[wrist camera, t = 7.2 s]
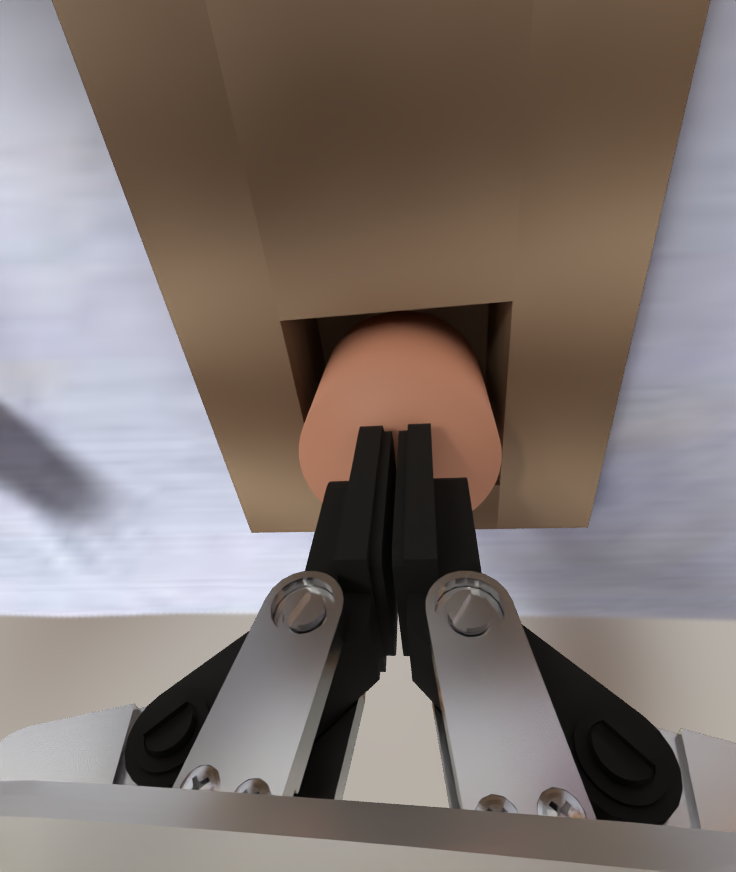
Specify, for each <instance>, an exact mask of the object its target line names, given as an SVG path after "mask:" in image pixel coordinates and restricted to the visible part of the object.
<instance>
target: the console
mask: <svg viewBox="0 0 736 872" xmlns="http://www.w3.org/2000/svg"><path fill="white" fill-rule="evenodd" d="M52 2H53V5H54V7H55V10H56V13H57V15H58V18H59V21H60V23H61V26H62V29H63V31H64V34H65V37H66V39H67V42H68V45H69V47H70V50H71V53H72V55H73V58H74V61H75V63H76V66H77V69H78V71H79V74H80V77H81V79H82V82H83V85H84V87H85V90H86V93H87V95H88V98H89V101H90V103H91V106H92V109H93V111H94V114H95V117H96V119H97V122H98V125H99V127H100V130H101V133H102V135H103V138H104V141H105V143H106V146H107V149H108V151H109V154H110V157H111V159H112V162H113V165H114V167H115V170H116V173H117V175H118V178H119V181H120V183H121V186H122V189H123V191H124V194H125V197H126V199H127V202H128V205H129V207H130V210H131V213H132V215H133V218H134V221H135V223H136V226H137V229H138V231H139V234H140V237H141V239H142V242H143V245H144V247H145V250H146V253H147V255H148V258H149V261H150V263H151V266H152V269H153V271H154V274H155V277H156V279H157V282H158V285H159V287H160V290H161V293H162V295H163V298H164V301H165V303H166V306H167V309H168V311H169V314H170V317H171V319H172V322H173V325H174V327H175V330H176V333H177V335H178V338H179V341H180V343H181V346H182V349H183V351H184V354H185V357H186V359H187V362H188V365H189V367H190V370H191V373H192V375H193V378H194V381H195V383H196V386H197V389H198V391H199V394H200V397H201V399H202V402H203V405H204V407H205V410H206V413H207V415H208V418H209V421H210V423H211V426H212V429H213V431H214V434H215V437H216V439H217V442H218V445H219V447H220V450H221V453H222V455H223V458H224V461H225V463H226V466H227V469H228V471H229V474H230V477H231V479H232V482H233V485H234V487H235V490H236V493H237V495H238V498H239V501H240V503H241V506H242V509H243V511H244V514H245V517H246V519H247V522H248V525H249V527H250V530H251V533H260V532H315V530H316V526H317V522H318V518H319V514H320V510H321V507H322V502H321V501H320V500H319V499H318V498H317V497H316V496H315V494H314V493H313V492H312V490H311V489H310V487H309V486H308V484H307V482H306V480H305V478H304V476H303V473H302V470H301V466H300V461H299V441H300V435H301V432H302V429H303V426H304V423H305V421H306V418H307V415H308V413H309V410H310V407H311V405H312V402H313V400H314V397H315V394H316V392H317V389H318V386H319V384H320V381H321V379H322V376H323V373H324V371H325V368H326V365H327V363H328V360H329V358H330V355H331V353H332V351H333V349H334V347H335V346H336V344H337V343H338V342H339V340H340V339H341V338H342V337H343V336H344V335H345V334H346V332H348V331H349V330H350V329H351V328H353V327H354V326H355V325H357V324H358V323H360V322H362V321H363V320H365V319H368V318H370V317H372V316H375V315H378V314H382V313H386V312H393V311H413V312H420V313H424V314H428V315H431V316H434V317H436V318H439V319H441V320H443V321H445V322H446V323H448V324H450V325H451V326H452V327H454V328H455V329H456V330H458V331H459V332H460V333H461V334H462V335H463V336H464V337H465V338H466V340H467V341H468V342H469V344H470V345H471V347H472V349H473V350H474V352H475V354H476V357H477V360H478V362H479V366H480V369H481V373H482V376H483V380H484V384H485V387H486V391H487V394H488V398H489V402H490V405H491V409H492V413H493V416H494V420H495V423H496V427H497V431H498V434H499V438H500V443H501V449H502V461H501V467H500V472H499V475H498V478H497V481H496V483H495V485H494V487H493V488H492V490H491V492H490V493H489V494H488V496H487V497H486V499H485V500H484V501H483V502H482V503H481V504H480V505H479V506H478V507H477V508H476V509H474V510H473V511H472V512H473V519H474V526H475V529H515V528H579V527H588V525H589V521H590V516H591V512H592V508H593V503H594V499H595V495H596V490H597V486H598V482H599V478H600V473H601V469H602V465H603V460H604V456H605V452H606V447H607V443H608V439H609V434H610V430H611V426H612V422H613V417H614V413H615V409H616V404H617V400H618V396H619V391H620V387H621V383H622V378H623V374H624V370H625V366H626V361H627V357H628V353H629V348H630V344H631V340H632V335H633V331H634V327H635V322H636V318H637V314H638V310H639V305H640V301H641V297H642V292H643V288H644V284H645V279H646V275H647V271H648V267H649V262H650V258H651V254H652V249H653V245H654V241H655V236H656V232H657V228H658V223H659V219H660V215H661V211H662V206H663V202H664V198H665V193H666V189H667V185H668V180H669V176H670V172H671V167H672V163H673V159H674V155H675V150H676V146H677V142H678V137H679V133H680V129H681V124H682V120H683V116H684V111H685V107H686V103H687V99H688V94H689V90H690V86H691V81H692V77H693V73H694V68H695V64H696V60H697V56H698V51H699V47H700V43H701V38H702V34H703V30H704V25H705V21H706V17H707V12H708V8H709V4H710V0H52Z"/></svg>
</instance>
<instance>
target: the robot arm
mask: <svg viewBox="0 0 736 872" xmlns="http://www.w3.org/2000/svg"><path fill="white" fill-rule="evenodd" d="M398 616H399V624H400V632H401V640H402V648H403V654H404V656H410V662H411V671H412V680H413V682H415V684H416V685H417V686H418V687H419V688H420V689H421V690H422V691H423V692H424V693H425V694H426V695H427V696H428V697H429V698H430V700H431V701H432V707H433V712H434V719H435V725H436V731H437V737H438V743H439V749H440V754H441V760H442V766H443V772H444V778H445V784H446V790H447V796H448V802H449V808H439V807H427V806H413V805H399V804H386V803H372V802H359V801H346V800H342V799H343V794H344V790H345V786H346V781H347V777H348V773H349V768H350V764H351V760H352V755H353V751H354V746H355V743H356V738H357V734H358V730H359V725H360V721H361V717H362V712H363V708H364V704H365V693H366V691H368V690H369V689H370V688H371V687H372V686H373V685H374V684H375V683H376V682H377V681H378V680H379V678H380V677H379V676H380V672H386V656H387V655H390V656H395V655H396V644H397V643H396V642H397V619H398ZM0 872H736V743H734V742H730V741H726V740H722V739H719V738H715V737H711V736H707V735H704V734H700V733H697V732H693V731H689V730H685V729H682V728H681V729H680V730H679V732H678V734H677V733H674V732H670V731H666V730H663V729H659V728H656V727H655V726H654V725H653V724H651V723H650V722H649V721H648V720H647V719H646V718H645V717H644V716H643V715H641V714H640V713H639V712H637V711H636V710H635V709H633V708H632V707H631V706H629V705H628V704H627V703H625V702H624V701H623V700H621V699H620V698H619V697H617V696H616V695H615V694H613V693H612V692H611V691H609V690H608V689H607V688H605V687H604V686H603V685H602V684H600V683H599V682H598V681H596V680H595V679H594V678H592V677H591V676H590V675H588V674H587V673H586V672H584V671H583V670H582V669H580V668H579V667H578V666H576V665H575V664H574V663H572V662H571V661H570V660H568V659H567V658H566V657H564V656H563V655H562V654H560V653H559V652H558V651H556V650H555V649H554V648H553V647H551V646H550V645H549V644H547V643H546V642H545V641H543V640H542V639H541V638H539V637H538V636H537V635H535V634H534V633H533V632H531V631H530V630H529V629H527V628H526V627H525V626H523V625H522V624H521V621H520V619H519V616H518V614H517V611H516V608H515V606H514V603H513V601H512V599H511V597H510V595H509V594H508V592H507V590H506V589H505V588H504V587H503V586H502V585H501V584H500V583H499V582H498V581H496V580H495V579H493V578H491V577H489V576H487V575H485V574H482V573H481V566H480V559H479V553H478V546H477V539H476V533H475V526H474V519H473V512H472V506H471V499H470V492H469V485H468V480H467V477H461V478H433V458H432V438H431V423H423V424H408V429H407V430H403V431H399V436H398V453H397V470H396V462H395V452H394V442H393V433H392V431H384V428H383V425H381V426H360V428H359V432H358V437H357V442H356V447H355V452H354V457H353V462H352V468H351V473H350V478H349V481H330V482H329V483H328V485H327V487H326V491H325V495H324V499H323V503H322V507H321V510H320V514H319V518H318V522H317V526H316V530H315V534H314V538H313V542H312V546H311V549H310V553H309V557H308V561H307V565H306V569H305V571H303V572H299V573H295V574H292V575H290V576H288V577H287V578H285V579H283V580H281V581H280V582H279V583H278V584H277V585H276V586H275V587H273V588H272V590H271V591H270V593H269V594H268V596H267V597H266V599H265V600H264V603H263V605H262V607H261V609H260V611H259V613H258V615H257V617H256V619H255V621H254V623H253V625H252V627H251V629H250V631H249V632H247V633H246V634H244V635H243V636H242V637H240V638H239V639H237V640H236V641H234V642H233V643H232V644H230V645H229V646H228V647H226V648H225V649H223V650H222V651H221V652H219V653H218V654H216V655H215V656H214V657H212V658H211V659H209V660H208V661H207V662H205V663H204V664H203V665H201V666H200V667H198V668H197V669H196V670H194V671H193V672H191V673H190V674H189V675H187V676H186V677H184V678H183V679H182V680H180V681H179V682H177V683H176V684H175V685H173V686H172V687H171V688H169V689H168V690H167V691H165V692H164V693H162V694H161V695H159V696H158V697H157V698H156V699H155V700H154V701H153V702H152V703H150V704H149V705H148V706H147V707H143V708H138V707H137V706H136V705H135V704H130V705H126V706H121V707H116V708H112V709H107V710H102V711H98V712H93V713H88V714H84V715H79V716H74V717H69V718H65V719H60V720H56V721H51V722H46V723H41V724H37V725H33V726H28V727H26V728H23V729H20V730H18V731H15V732H13V733H11V734H10V735H9V736H7V737H6V738H4V739H3V740H1V741H0Z"/></svg>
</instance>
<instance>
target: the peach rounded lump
mask: <svg viewBox="0 0 736 872" xmlns="http://www.w3.org/2000/svg"><path fill="white" fill-rule="evenodd" d="M423 423H431V438H432V458H433V478H461V477H467V480H468V485H469V492H470V499H471V506H472V511H473V510H474V509H476V508H477V507H478V506H479V505H480V504H481V503H482V502H483V501H484V500H485V499H486V497H487V496H488V494H489V493H490V492H491V490H492V488H493V487H494V485H495V483H496V481H497V478H498V475H499V472H500V467H501V461H502V449H501V443H500V438H499V434H498V431H497V427H496V423H495V420H494V416H493V413H492V409H491V405H490V402H489V398H488V394H487V391H486V387H485V384H484V380H483V376H482V373H481V369H480V366H479V362H478V360H477V357H476V354H475V352H474V350H473V349H472V347H471V345H470V344H469V342H468V341H467V340H466V338H465V337H464V336H463V335H462V334H461V333H460V332H459V331H458V330H456V329H455V328H454V327H452V326H451V325H450V324H448V323H446V322H445V321H443V320H441V319H439V318H436V317H434V316H431V315H428V314H424V313H420V312H413V311H393V312H386V313H382V314H378V315H375V316H372V317H370V318H368V319H365V320H363V321H362V322H360V323H358V324H357V325H355V326H354V327H353V328H351V329H350V330H349V331H348V332H346V334H345V335H344V336H343V337H342V338H341V339H340V340H339V342H338V343H337V344H336V346H335V347H334V349H333V351H332V353H331V355H330V358H329V360H328V363H327V365H326V368H325V371H324V373H323V376H322V379H321V381H320V384H319V386H318V389H317V392H316V394H315V397H314V400H313V402H312V405H311V407H310V410H309V413H308V415H307V418H306V421H305V423H304V426H303V429H302V432H301V435H300V441H299V461H300V466H301V470H302V473H303V476H304V478H305V480H306V482H307V484H308V486H309V487H310V489H311V490H312V492H313V493H314V494H315V496H316V497H317V498H318V499H319V500H320V501H321V502H322V503H323V499H324V495H325V491H326V487H327V485H328V483H329V482H330V481H349V478H350V473H351V468H352V462H353V457H354V452H355V447H356V442H357V437H358V432H359V428H360V426H381V425H383V428H384V431H392V433H393V442H394V452H395V462H396V470H397V453H398V436H399V431H403V430H407V429H408V424H423Z"/></svg>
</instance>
